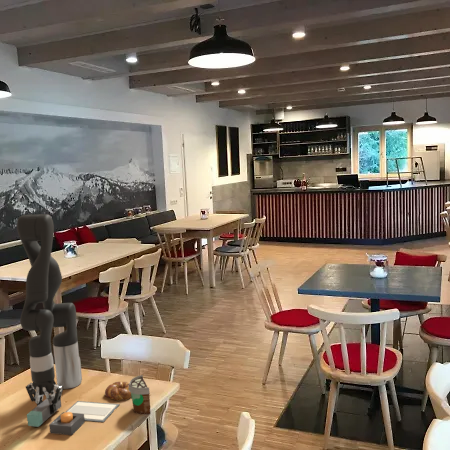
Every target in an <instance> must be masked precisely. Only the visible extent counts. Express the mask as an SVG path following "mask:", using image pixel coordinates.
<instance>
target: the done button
mask: <svg viewBox="0 0 450 450" xmlns="http://www.w3.org/2000/svg"><path fill="white" fill-rule="evenodd" d="M62 413H63V412H62ZM62 413H61V423H70V422H71V421H72V420H73V414H72V412H66V411H65V413H63V414H62Z"/></svg>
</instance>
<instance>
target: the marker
mask: <svg viewBox="0 0 450 450" xmlns="http://www.w3.org/2000/svg"><path fill="white" fill-rule="evenodd" d="M42 401H43V402H42V403H41V404H39V405H38V406H37V405H36V406H35V407H34V408H33V409H32V410H30V411H29V412H28V413H27V414H26V418H27V419H26V421H27V426H29V427H37V428H38V427H40V426H41V425H42V424H43V423H45V421H47V420H48V419H49V418H50V417H52V415H51V414H50V406H49V405H50V404H49V401H48V399H46V398H45V399H43V400H42ZM60 408H62V399H61V400H60V401H58V402H57V403H56V411H55V413H56V412H58V410H59V409H60Z"/></svg>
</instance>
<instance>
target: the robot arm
mask: <svg viewBox="0 0 450 450" xmlns="http://www.w3.org/2000/svg"><path fill="white" fill-rule="evenodd" d="M16 228H17V229H16V230H17V234H18V237H19V239H20V242H21V244H22V247H23V248H24V251H25V253H26V256H27V257H28V260H29V263H30V266H31V267H30V269H29V270H28V273H27V276H26V279H25V295H26V296H25V301H24V305H23V308H22V311H21V314H20V320H19V321H20V327H21V328H22V329H23V330H25V331H28V332H34V331H37V332H38V331H40V334H39V335H35V336H32V337H31V338H30V339H29V340H28V353H29V366H30V376H31V381H32V382H30V383H28V384H27V385H25V390H26V392H27V393H28V394H27V395H28V396H29V399H30V402H32V403H33V402H35V404H36V407H37V406H38V405H39V404H41V403H42V402H43V401H44V396H45V399H48V401H49V404H50V405H49V406H50V414H51V416H52V415H54V414H55V413H56V412H57V411H56V403H57V402H58V401H60V400H61V401H62V394H63V391H64V390H67V389H68V390H69V389H74V388H76V387H78V386H79V385H80V384H82V380H83V375H82V364H81V357H80V354H79V353H80V352H79V343H78V329H77V310H76V305H75V304H74V303H73V302H60V303H58V302H57V303H55V302H54V298H55V296H56V294H57V292H58V290H59V289H60V286H61V284H62V282H63V281H62V280H63V275H62V272H61V268H60V265H59V263H58V262H57V260H56V259H54V257H53V256H52V251H53V250H52V249H53V244H54V241H53V240H54V234H55V233H54V232H55V227H54V219H53V218H52V216H51V215H50V214H48V213H47V214H46V213H45V214H39V213H37V214H23V215H21V216H19V217H18V219H17V222H16ZM39 242H40V244H39ZM41 303H42V306H43V309H36V308H37V305H38V304H41ZM53 328H66V330H64V331H62V332H61V333H58V334H56V335H54V336H53V338H51V337H52V331H53ZM51 339H52V341H51ZM51 342H52V344H51ZM52 345H53V346H52ZM52 349H53V353H52ZM53 356H54V357H53ZM55 377H56V381H55ZM55 411H56V412H55Z"/></svg>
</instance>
